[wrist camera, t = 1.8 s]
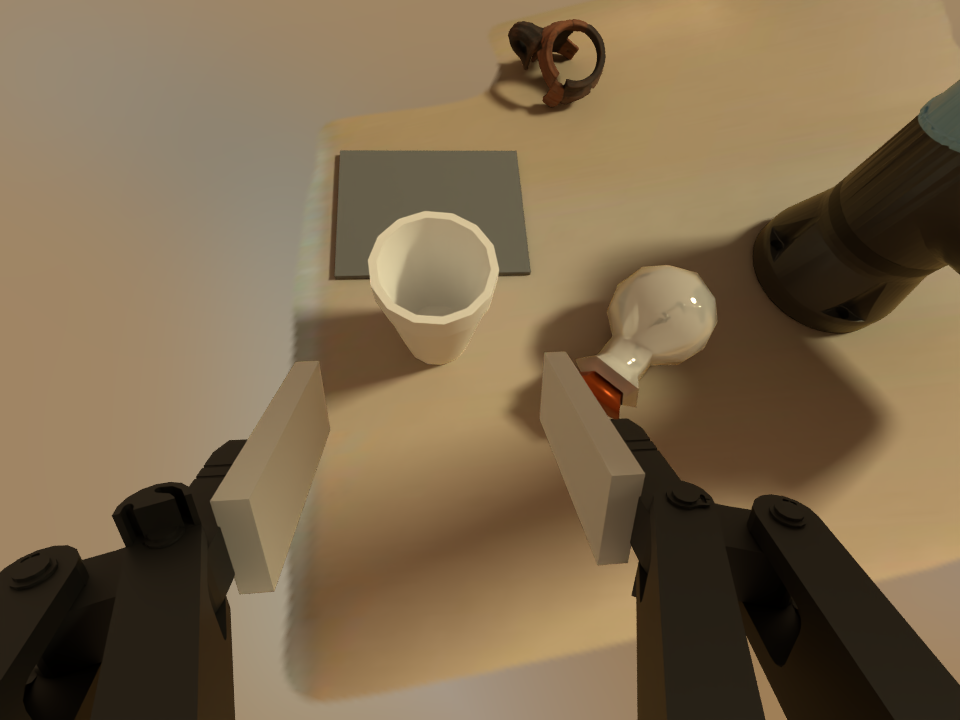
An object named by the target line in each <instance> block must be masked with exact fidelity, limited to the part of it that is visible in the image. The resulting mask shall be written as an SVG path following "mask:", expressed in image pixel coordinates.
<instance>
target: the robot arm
mask: <svg viewBox="0 0 960 720" xmlns="http://www.w3.org/2000/svg"><path fill="white" fill-rule="evenodd" d="M753 262H754V268H755V272H756V274H757V277H758V280H759V282H760V284H761V286H762V287H763V289H764V291H765V292H766V293H767V295H768V296H769V297H770V299H771V300H772V301H773V302H774V303H775V304H776V305H777V306H778V307H779V308H780V309H781V310H782V311H784V312H785V313H786V314H787V315H789V316H790V317H792V318H793V319H795V320H796V321H798V322H800V323H802V324H804V325H806V326H809V327H811V328H814V329H817V330H821V331H825V332H832V333H847V332H852V331H856V330H859V329H862V328H864V327H866V326H868V325H870V324H872V323H875V322H877V321H879V320H881V319H882V318H884V317H885V316H887V315H888V314H889V313H891V312H892V311H893V310H894V309H895V308H896V307H897V306H898V305H899V304H900V303H901V302H902V301H903V300H904V299H905V298H906V297H907V296H908V295H909V293H910V292H911V291H912V290H913V289H914V288H915V287H916V286H917V285H918V284H919V283H920V282H921V281H922V280H923V279H924V278H925V277H926V276H927V275H929V274H931V273H933V272H935V271H937V270H939V269H941V268H942V267H944V266H947V265H949V266H950V267H951V268H953V269H954V270H955V271H956V272H957V273H958V274H960V80H958V81H957V82H956V83H955V84H953V85H952V86H951V87H950V88H948V89H947V90H946V91H945V92H943V93H941V94H939V95H938V96H936V97H934V98H932V99H931V100H930V101H928V102H927V103H926V104H925V105H924V106H923V107H922V108H921V110H920V113H919V115H918V116H916V117H915V118H914V119H913V120H912V121H911V122H909V123H908V124H907V125H906V126H905V127H904V128H902V129H901V130H900V131H899V132H898V133H897V134H895V135H894V136H893V137H892V138H891V139H890V140H888V141H887V142H886V143H885V144H884V145H883V146H881V147H880V148H879V149H878V150H877V151H876V152H874V153H873V154H872V155H871V156H870V157H869V158H867V159H866V160H865V161H864V162H863V163H861V164H860V165H859V166H858V167H857V168H856V169H854V170H853V171H852V172H851V173H850V174H849V175H848V176H846V177H845V178H844V179H843V180H842V181H841V182H839V183H838V184H837V185H836V186H835V187H833V188H831V189H828V190H826V191H824V192H822V193H820V194H817V195H815V196H813V197H811V198H809V199H806V200H804V201H802V202H800V203H798V204H795V205H793V206H791V207H789V208H787V209H785V210H784V211H782V212H781V213H779V214H778V215H777V216H776V217H775V218H774V219H772V220H771V221H770V222H769V223H768V224H767V225H766V226H765V227H764V228H763V229H762V230H761V232H760V233H759V235H758V237H757V239H756V241H755V245H754V250H753ZM540 421H541V424H542V427H543V429H544V432H545V434H546V437H547V439H548V442H549V444H550V447H551V449H552V452H553V454H554V457H555V459H556V462H557V464H558V467H559V469H560V472H561V474H562V477H563V479H564V482H565V484H566V487H567V489H568V492H569V494H570V497H571V500H572V502H573V505H574V507H575V510H576V512H577V515H578V517H579V520H580V522H581V525H582V527H583V530H584V532H585V535H586V537H587V540H588V542H589V545H590V547H591V550H592V552H593V555H594V557H595V560H596V562H597V565H607V564H619V563H628V559H629V554H630V549H631V546H632V548H633V550H634V552H635V554H636V556H637V558H638V560H639V563H638V568H637V572H636V577H635V582H634V586H633V591H632V596H634V597H636V607H637V699H638V700H637V701H638V702H637V704H638V705H637V707H638V720H765V716H764V712H763V707H762V703H761V699H760V695H759V690H758V686H757V681H756V677H755V673H754V668H753V664H752V660H751V655H750V651H749V647H748V643H747V638H748V640H749V642H750V644H751V646H752V648H753V650H754V652H755V654H756V656H757V658H758V660H759V663H760V665H761V667H762V669H763V671H764V673H765V675H766V677H767V679H768V681H769V683H770V685H771V687H772V689H773V691H774V693H775V695H776V697H777V699H778V701H779V703H780V706H781V708H782V710H783V712H784V714H785V716H786V718H787V720H960V685H959V684H958V683H957V681H956V680H955V679H954V678H953V677H952V675H951V674H950V673H949V672H948V671H947V669H946V668H945V667H944V666H943V665H942V664H941V662H940V661H939V660H938V659H937V657H936V656H935V655H934V654H933V653H932V651H931V650H930V649H929V648H928V647H927V645H926V644H925V643H924V642H923V641H922V639H921V638H920V637H919V636H918V635H917V634H916V632H915V631H914V630H913V629H912V628H911V626H910V625H909V624H908V623H907V622H906V620H905V619H904V618H903V617H902V616H901V614H900V613H899V612H898V611H897V610H896V608H895V607H894V606H893V605H892V604H891V603H890V601H889V600H888V599H887V598H886V597H885V595H884V594H883V593H882V592H881V591H880V589H879V588H878V587H877V586H876V585H875V583H874V582H873V581H872V580H871V579H870V577H869V576H868V575H867V574H866V573H865V571H864V570H863V569H862V568H861V567H860V565H859V564H858V563H857V562H856V561H855V559H854V558H853V557H852V556H851V555H850V554H849V552H848V551H847V550H846V549H845V548H844V546H843V545H842V544H841V543H840V542H839V540H838V539H837V538H836V537H835V536H834V534H833V533H832V532H831V531H830V530H829V528H828V527H827V526H826V525H825V524H824V522H823V521H822V520H821V519H820V518H819V517H818V516H817V515H816V514H815V513H814V512H813V511H812V510H811V509H810V508H808V507H806V506H805V505H803V504H801V503H799V502H798V501H795V500H793V499H790V498H787V497H784V496H778V495H772V494H771V495H762V496H760V497H758V498H756V499H755V500H754V503H753V506H752V509H751V510H748V509H742V508H736V507H730V506H724V505H719V504H715V503H714V501H713V499H712V497H711V496H710V495H709V494H708V493H707V492H705V491H704V490H703V489H701V488H699V487H698V486H696V485H694V484H691V483H688V482H685V481H681V480H680V479H679V477H678V476H677V475H676V473H675V472H674V470H673V469H672V468H671V466H670V465H669V464H668V462H667V461H666V460H665V458H664V457H663V456H662V454H661V453H660V452H659V451H657V448H656V446H655V445H654V444H653V442H652V441H650V438H649V437H648V436H647V434H646V433H645V431H644V430H643V429H642V428H641V427H640V426H638V425H637V424H635V423H634V422H632V421H631V420H629V419H609V417H608V416H607V414H606V413H605V411H604V410H603V408H602V407H601V405H600V404H599V402H598V400H597V399H596V397H595V396H594V394H593V393H592V391H591V390H590V388H589V387H588V385H587V384H586V382H585V380H584V379H583V377H582V376H581V374H580V373H579V371H578V370H577V368H576V367H575V365H574V364H573V362H572V361H571V359H570V357H569V356H568V354H567V353H566V351H565V352H544V363H543V377H542V391H541V405H540ZM329 432H330V425H329V418H328V412H327V406H326V400H325V394H324V387H323V381H322V375H321V369H320V363H319V361H299V362H295V363H294V365H293V367H292V368H291V370H290V372H289V373H288V375H287V376H286V378H285V380H284V381H283V383H282V385H281V386H280V388H279V390H278V391H277V393H276V394H275V396H274V398H273V399H272V401H271V403H270V404H269V406H268V408H267V409H266V411H265V413H264V414H263V416H262V417H261V419H260V421H259V422H258V424H257V425H256V427H255V429H254V430H253V432H252V434H251V435H250V437H249V438H248V439H247V440H229V441H228V442H226V443H225V444H224V445H222V446H221V447H220V448H218V449H217V450H216V451H214V452H213V453H212V455H211V456H210V458H209V459H208V460H207V462H206V463H205V465H204V468H202V469H201V470H200V472H199V474H198V475H197V476H196V479H194V481H193V482H192V483H191V485H190V486H189V487H188V486H186V485H184V484H182V483H174V482H168V483H162V484H156V485H153V486H150V487H148V488H145V489H142V490H140V491H138V492H136V493H135V494H133V495H131V496H129V497H128V498H126V499H125V500H124V501H123V502H122V503H121V504H120V505H119V506H117V508H116V510H115V512H114V513H113V515H112V517H113V519H114V521H115V524H116V526H117V528H118V530H119V532H120V535H121V537H122V539H123V542H124V543H125V546H126V547H125V548H122V549H119V550H116V551H113V552H109V553H106V554H102V555H99V556H95V557H91V558H88V559H85V560H82V559H81V557H80V555H79V553H78V551H77V549H75V548H73V547H70V546H68V545H65V546H52V547H49V548H45V549H41V550H37V551H35V552H33V553H31V554H28V555H26V556H24V557H22V558H20V559H18V560H17V561H15V562H14V563H12V564H11V565H9V566H7V567H6V568H4V569H3V570H2V571H1V572H0V720H235V707H234V686H233V685H234V684H233V661H232V637H231V616H230V615H231V613H230V606H229V603H228V600H227V597H226V594H227V592H228V590H229V587H230V585H231V583H232V581H233V578H235V581H236V585H237V587H238V591H239V594H250V593H262V592H274V590H275V588H276V585H277V582H278V579H279V576H280V573H281V571H282V568H283V565H284V562H285V559H286V556H287V553H288V550H289V547H290V545H291V542H292V539H293V536H294V533H295V530H296V527H297V524H298V522H299V519H300V516H301V513H302V510H303V507H304V504H305V501H306V498H307V496H308V493H309V490H310V487H311V484H312V481H313V478H314V475H315V473H316V470H317V467H318V464H319V461H320V458H321V455H322V452H323V449H324V447H325V444H326V441H327V438H328V435H329ZM746 636H747V638H746Z"/></svg>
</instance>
